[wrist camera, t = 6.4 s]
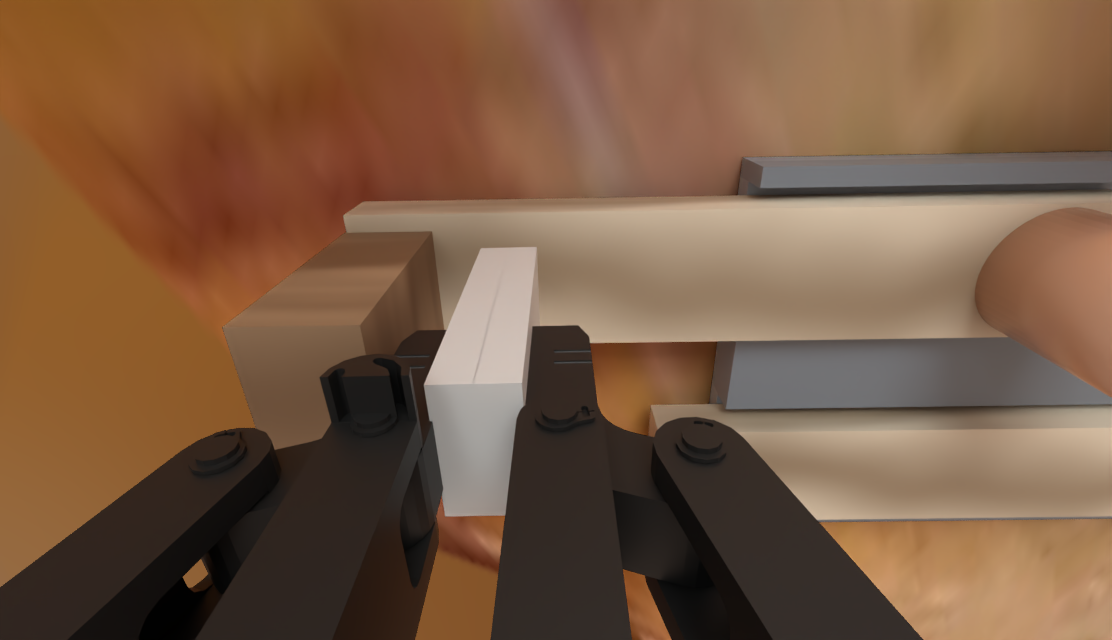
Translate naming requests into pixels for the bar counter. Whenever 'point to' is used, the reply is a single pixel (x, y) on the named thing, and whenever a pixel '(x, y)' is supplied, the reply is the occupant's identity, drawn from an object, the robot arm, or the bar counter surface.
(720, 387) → the lane board
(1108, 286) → the terracotta cylinder
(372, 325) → the strip
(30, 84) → the bar counter surface
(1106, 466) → the strip
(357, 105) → the bar counter surface
